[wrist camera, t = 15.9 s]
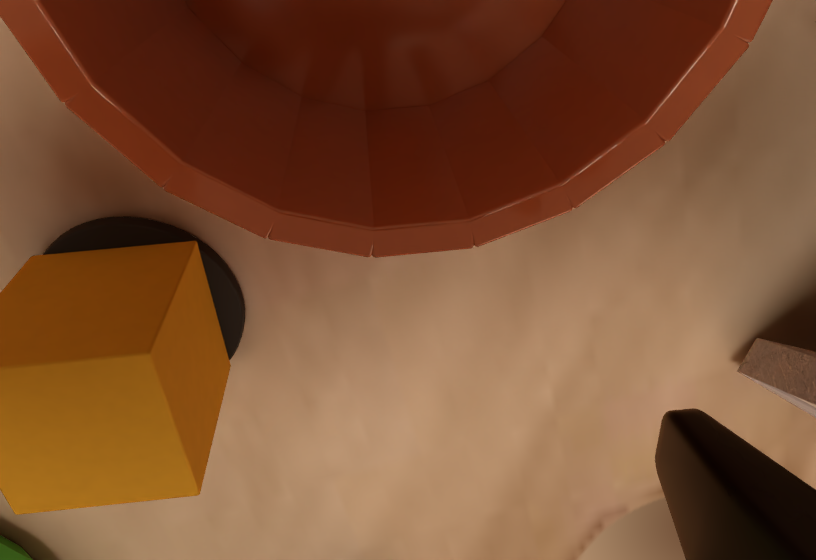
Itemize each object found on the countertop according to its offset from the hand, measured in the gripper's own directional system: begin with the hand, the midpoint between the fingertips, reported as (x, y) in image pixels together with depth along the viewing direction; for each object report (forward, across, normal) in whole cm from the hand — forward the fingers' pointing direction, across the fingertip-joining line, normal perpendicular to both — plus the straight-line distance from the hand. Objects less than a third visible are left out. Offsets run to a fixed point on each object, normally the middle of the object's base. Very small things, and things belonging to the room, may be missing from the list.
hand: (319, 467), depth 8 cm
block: (+10, +6, +4) cm, 12 cm away
